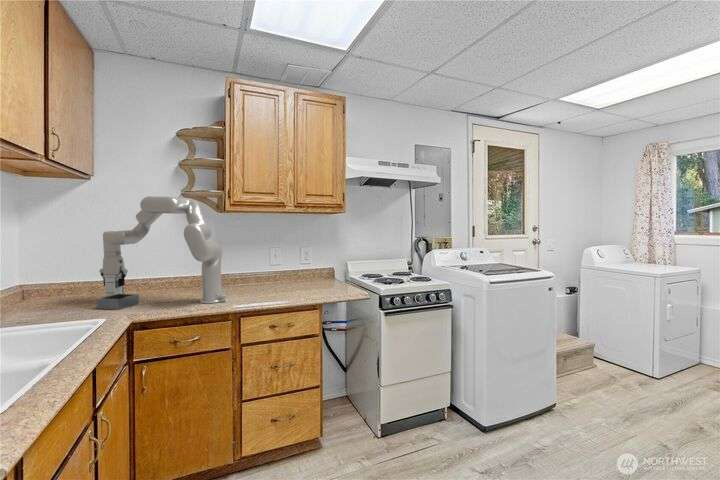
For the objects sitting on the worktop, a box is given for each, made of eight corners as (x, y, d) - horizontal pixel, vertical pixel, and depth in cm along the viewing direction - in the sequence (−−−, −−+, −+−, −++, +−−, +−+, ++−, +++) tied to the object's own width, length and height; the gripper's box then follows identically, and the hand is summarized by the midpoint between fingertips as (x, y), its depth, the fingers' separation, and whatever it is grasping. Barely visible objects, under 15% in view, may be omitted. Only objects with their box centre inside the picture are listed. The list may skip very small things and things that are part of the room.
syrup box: (115, 302, 188) (114, 275, 187) (105, 302, 189) (104, 275, 188) (124, 299, 194) (122, 273, 193) (114, 299, 195) (113, 273, 194)
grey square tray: (139, 303, 184) (138, 294, 183) (118, 309, 172) (117, 299, 171) (119, 302, 186) (118, 293, 186) (97, 308, 174) (96, 298, 174)
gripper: (131, 253, 192) (133, 284, 193) (105, 253, 195) (107, 283, 196) (119, 254, 184) (121, 287, 185) (92, 254, 188) (94, 286, 189)
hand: (114, 285), depth 191 cm, fingers open, 9 cm apart
